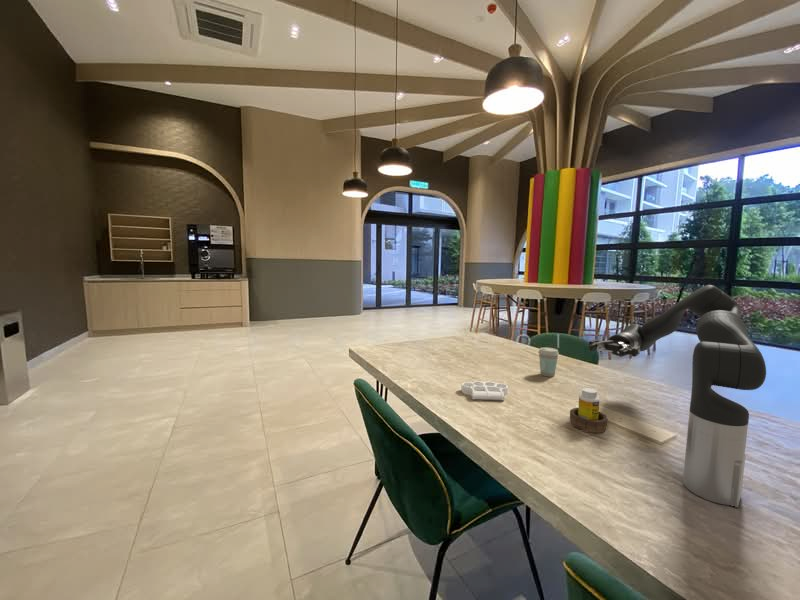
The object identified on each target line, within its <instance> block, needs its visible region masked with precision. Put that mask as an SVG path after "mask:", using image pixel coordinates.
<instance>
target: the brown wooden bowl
mask: <svg viewBox="0 0 800 600" xmlns="http://www.w3.org/2000/svg"><path fill="white" fill-rule="evenodd" d="M608 420H609V418H608V416H607V415H606V414H605V413H603V412H601V411H599V415H598V420H596V421H594V420H587V419H584V418H581V417H579V416H578V407H574V408H572V409H570V410H569V423H570V425H571V426H572V427H573V428H576V429H577V430H580V431H582V432H586V433H589V434H602V433H605V432H606V431H607V427H608V422H609V421H608Z"/></svg>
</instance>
